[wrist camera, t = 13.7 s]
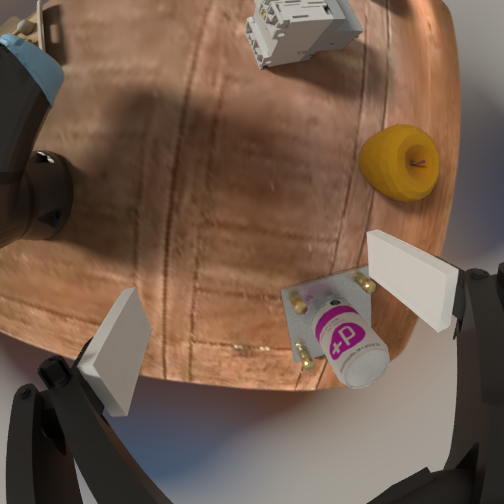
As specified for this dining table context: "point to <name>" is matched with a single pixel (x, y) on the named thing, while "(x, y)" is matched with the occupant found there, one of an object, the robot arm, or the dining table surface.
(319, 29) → the circuit breaker
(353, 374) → the supplement can
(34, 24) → the toy food set
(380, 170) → the apple
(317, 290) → the plate
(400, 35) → the dining table surface
